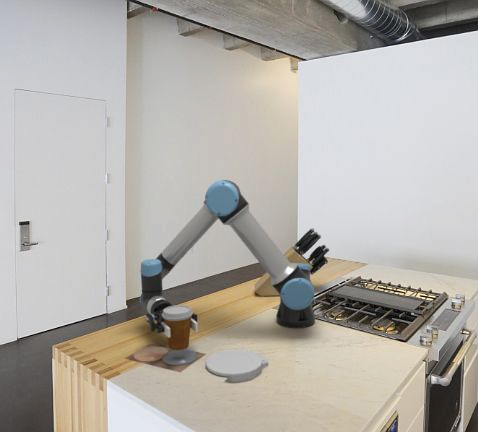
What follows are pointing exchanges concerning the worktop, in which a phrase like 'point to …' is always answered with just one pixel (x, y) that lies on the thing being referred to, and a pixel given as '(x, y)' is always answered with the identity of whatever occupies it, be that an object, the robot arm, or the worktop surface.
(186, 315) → the disposable coffee cup
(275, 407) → the worktop surface
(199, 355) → the walnut board
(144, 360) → the terracotta disc
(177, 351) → the slate disc
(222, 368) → the lid
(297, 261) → the knife block
